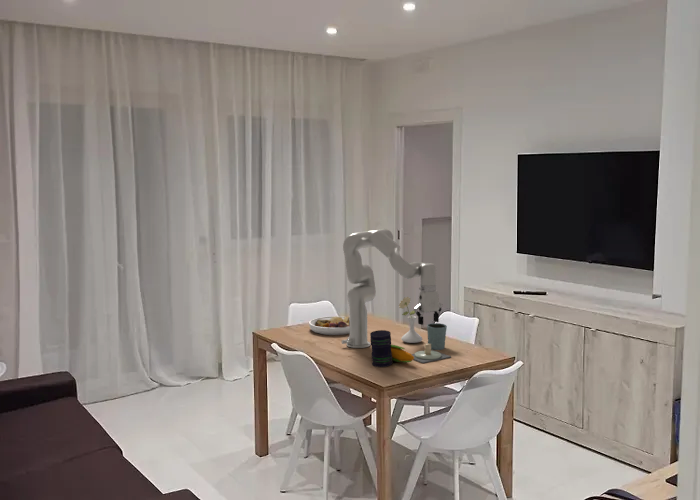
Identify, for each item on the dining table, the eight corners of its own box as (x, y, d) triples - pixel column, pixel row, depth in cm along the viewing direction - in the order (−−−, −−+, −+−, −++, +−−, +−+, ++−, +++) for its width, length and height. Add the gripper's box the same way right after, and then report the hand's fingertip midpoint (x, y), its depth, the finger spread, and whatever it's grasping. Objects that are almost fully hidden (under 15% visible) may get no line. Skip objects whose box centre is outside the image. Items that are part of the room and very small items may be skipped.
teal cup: (429, 344, 352) (429, 322, 350) (448, 346, 348) (448, 323, 347) (425, 349, 342) (425, 326, 341) (444, 351, 339) (444, 328, 337)
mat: (422, 363, 317) (422, 362, 317) (404, 356, 329) (404, 355, 329) (451, 357, 327) (451, 356, 327) (432, 351, 339) (432, 350, 339)
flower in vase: (416, 338, 365) (417, 293, 362) (426, 343, 354) (426, 297, 351) (395, 340, 360) (395, 295, 357) (403, 345, 350) (404, 299, 347)
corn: (387, 341, 329) (419, 349, 316) (386, 356, 329) (418, 364, 316) (377, 342, 323) (410, 350, 310) (376, 358, 324) (409, 366, 310)
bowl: (302, 327, 394) (302, 314, 393) (348, 322, 406) (348, 309, 405) (319, 338, 367) (319, 324, 366) (369, 333, 378) (369, 319, 377)
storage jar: (396, 363, 316) (395, 333, 313) (381, 368, 310) (379, 338, 307) (383, 358, 323) (381, 328, 321) (367, 363, 318) (365, 333, 315)
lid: (425, 361, 319) (426, 349, 318) (409, 355, 330) (409, 343, 329) (446, 357, 326) (446, 345, 325) (429, 351, 337) (429, 339, 336)
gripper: (419, 291, 316) (419, 326, 318) (447, 287, 325) (447, 322, 327) (409, 289, 322) (409, 324, 324) (437, 285, 332) (437, 319, 334)
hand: (428, 322), depth 326 cm, fingers open, 9 cm apart
